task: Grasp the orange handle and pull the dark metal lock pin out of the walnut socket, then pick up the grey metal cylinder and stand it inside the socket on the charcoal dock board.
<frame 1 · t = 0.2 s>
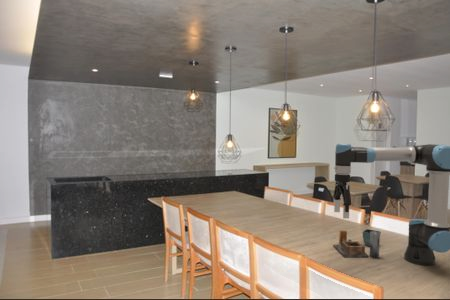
hand: (341, 215, 174), 28 cm above the table, fingers open, 13 cm apart
grey metal cylinder: (374, 256, 193), on the table
lock pin: (348, 242, 204), point 5 cm above the table, slide at 0.0 cm
flower pot: (371, 245, 213), on the table
dock: (349, 251, 202), on the table
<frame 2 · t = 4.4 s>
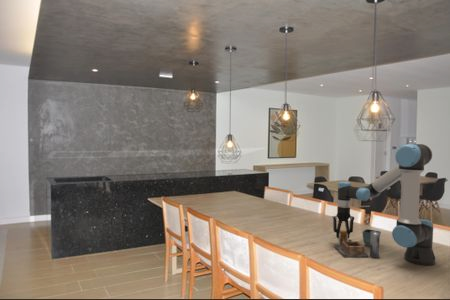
hand: (342, 243, 213), 1 cm above the table, fingers closed on lock pin, 4 cm apart
lock pin: (348, 242, 204), point 5 cm above the table, slide at 0.0 cm, touching gripper
everything else where it was.
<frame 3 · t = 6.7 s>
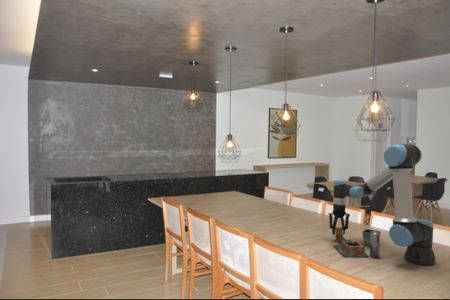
hand: (338, 239, 221), 1 cm above the table, fingers closed on lock pin, 4 cm apart
lock pin: (343, 238, 212), point 5 cm above the table, slide at 7.9 cm, touching gripper
everything else where it was.
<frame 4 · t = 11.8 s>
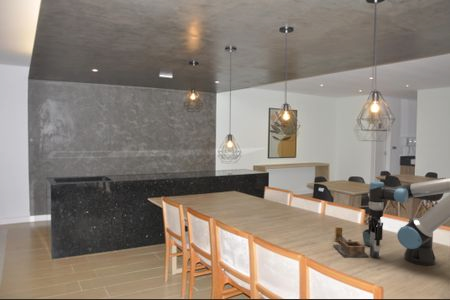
hand: (374, 249, 193), 4 cm above the table, fingers closed on grey metal cylinder, 5 cm apart
grey metal cylinder: (374, 256, 193), on the table, touching gripper
lock pin: (343, 238, 212), point 5 cm above the table, slide at 7.9 cm
everything else where it was.
when the fingers open (7 cm above the table, at t = 15.5 s): grey metal cylinder drops 1 cm, resting on dock.
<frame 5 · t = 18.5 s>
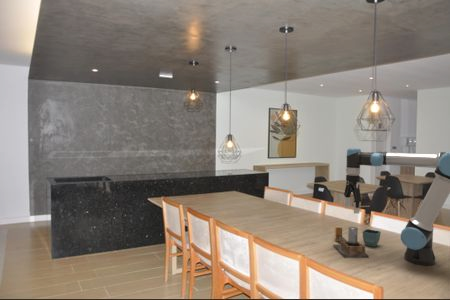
hand: (351, 210, 199), 25 cm above the table, fingers open, 13 cm apart
grey metal cylinder: (352, 251, 197), point 1 cm above the table, touching dock
everything else where it was.
at the end: lock pin slide at 7.9 cm; grey metal cylinder 0.1 cm from the target spot on the dock, point 1.2 cm above the dock's base; grey metal cylinder tilted 0° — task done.
